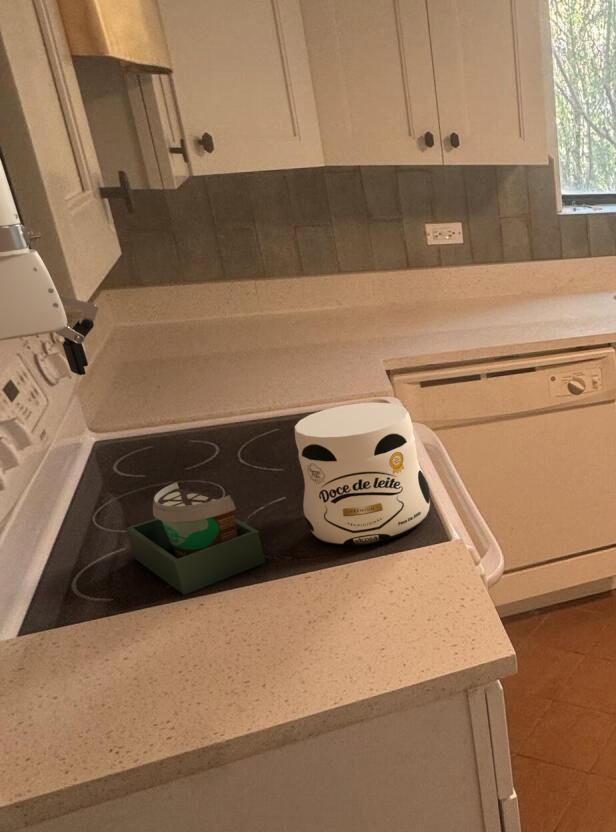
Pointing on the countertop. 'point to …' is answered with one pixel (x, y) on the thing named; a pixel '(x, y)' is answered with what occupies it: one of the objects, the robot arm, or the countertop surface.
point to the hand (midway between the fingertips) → (30, 382)
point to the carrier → (195, 556)
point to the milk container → (361, 474)
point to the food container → (194, 519)
